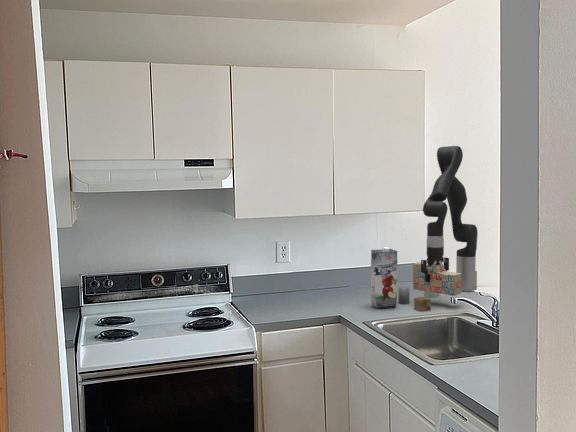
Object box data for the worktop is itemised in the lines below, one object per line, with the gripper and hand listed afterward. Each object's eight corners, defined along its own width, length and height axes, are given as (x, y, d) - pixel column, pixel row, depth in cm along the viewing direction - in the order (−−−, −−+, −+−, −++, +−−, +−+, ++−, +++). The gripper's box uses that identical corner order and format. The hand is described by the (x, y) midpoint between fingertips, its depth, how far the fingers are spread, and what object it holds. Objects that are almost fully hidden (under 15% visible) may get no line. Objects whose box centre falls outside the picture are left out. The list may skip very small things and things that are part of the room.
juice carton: (368, 305, 272) (369, 246, 269) (389, 303, 275) (390, 245, 272) (377, 309, 263) (377, 248, 261) (399, 307, 266) (399, 247, 264)
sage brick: (430, 294, 293) (430, 286, 293) (438, 295, 291) (438, 287, 291) (424, 297, 287) (424, 289, 287) (431, 298, 285) (432, 290, 284)
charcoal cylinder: (405, 301, 279) (405, 286, 278) (411, 303, 274) (411, 288, 274) (396, 302, 277) (396, 287, 276) (402, 304, 272) (402, 289, 272)
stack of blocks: (461, 293, 266) (461, 266, 265) (454, 296, 262) (454, 268, 261) (420, 287, 282) (420, 261, 280) (412, 289, 277) (412, 262, 276)
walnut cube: (423, 308, 266) (423, 296, 266) (430, 310, 262) (430, 299, 261) (414, 309, 264) (414, 298, 264) (421, 311, 260) (421, 300, 259)
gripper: (442, 243, 277) (442, 278, 278) (416, 245, 271) (416, 281, 272) (453, 245, 270) (453, 281, 271) (427, 247, 264) (427, 284, 266)
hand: (434, 281), depth 272 cm, fingers closed on stack of blocks, 7 cm apart
